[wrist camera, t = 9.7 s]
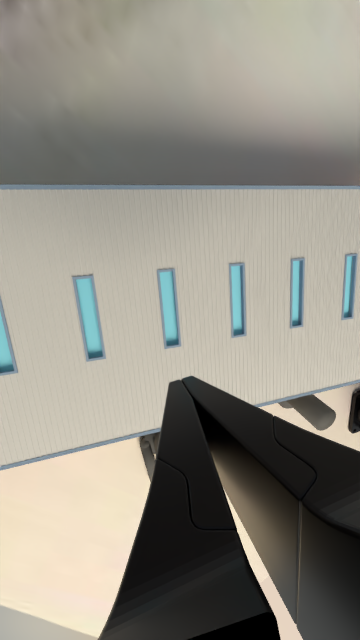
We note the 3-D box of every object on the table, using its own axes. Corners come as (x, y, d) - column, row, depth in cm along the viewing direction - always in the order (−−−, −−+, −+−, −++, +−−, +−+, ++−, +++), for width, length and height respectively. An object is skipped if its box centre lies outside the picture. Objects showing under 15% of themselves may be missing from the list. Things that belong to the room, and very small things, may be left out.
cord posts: (336, 409, 31) (375, 438, 27) (150, 479, 26) (159, 530, 22) (341, 358, 28) (385, 381, 24) (134, 426, 24) (141, 471, 19)
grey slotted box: (349, 197, 23) (454, 180, 16) (325, 339, 27) (398, 373, 20) (-26, 202, 15) (-134, 172, 9) (30, 392, 20) (-10, 473, 13)
